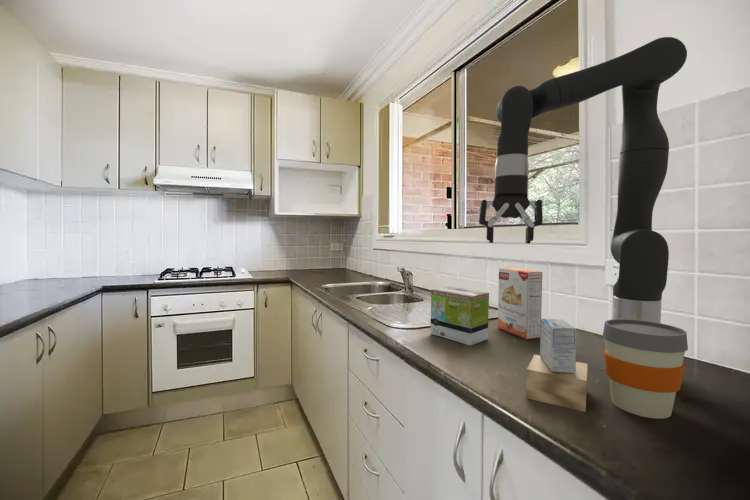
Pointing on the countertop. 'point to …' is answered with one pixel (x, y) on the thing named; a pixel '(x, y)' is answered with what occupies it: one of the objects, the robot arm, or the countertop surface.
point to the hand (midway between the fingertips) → (509, 243)
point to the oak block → (557, 385)
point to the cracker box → (520, 302)
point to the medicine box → (558, 345)
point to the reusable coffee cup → (644, 365)
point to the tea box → (460, 314)
